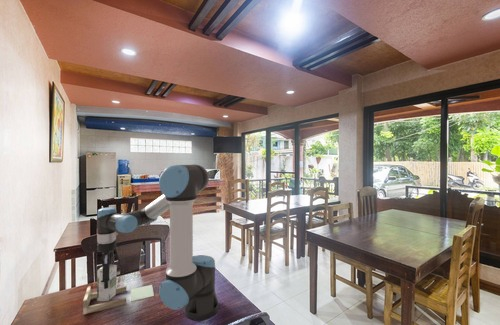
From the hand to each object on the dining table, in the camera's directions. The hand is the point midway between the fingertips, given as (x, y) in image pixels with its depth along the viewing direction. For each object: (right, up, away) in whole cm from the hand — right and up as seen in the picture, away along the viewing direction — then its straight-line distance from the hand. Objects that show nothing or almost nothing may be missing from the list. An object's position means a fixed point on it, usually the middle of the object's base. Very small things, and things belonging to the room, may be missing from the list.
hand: (107, 290), depth 109 cm
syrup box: (0, -4, 0) cm, 4 cm away
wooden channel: (0, -5, 0) cm, 5 cm away
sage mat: (+13, -6, +7) cm, 16 cm away
